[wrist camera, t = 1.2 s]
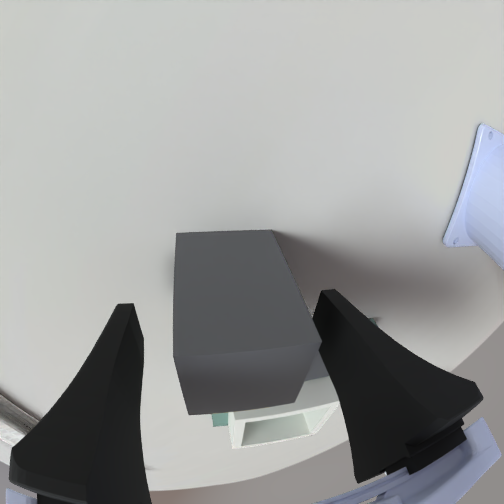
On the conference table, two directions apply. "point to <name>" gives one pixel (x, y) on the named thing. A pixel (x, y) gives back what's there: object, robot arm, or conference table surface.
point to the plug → (238, 323)
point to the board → (285, 413)
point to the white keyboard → (8, 429)
